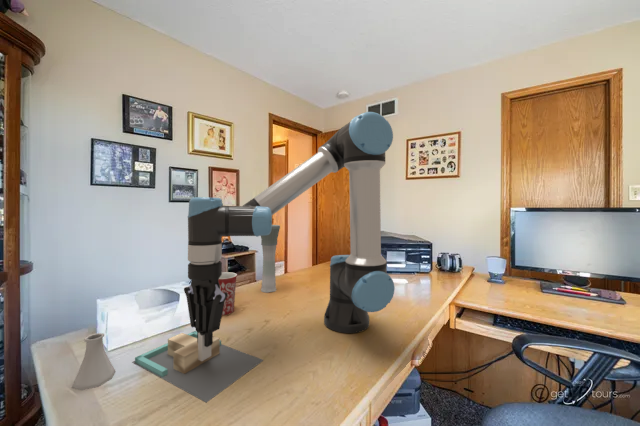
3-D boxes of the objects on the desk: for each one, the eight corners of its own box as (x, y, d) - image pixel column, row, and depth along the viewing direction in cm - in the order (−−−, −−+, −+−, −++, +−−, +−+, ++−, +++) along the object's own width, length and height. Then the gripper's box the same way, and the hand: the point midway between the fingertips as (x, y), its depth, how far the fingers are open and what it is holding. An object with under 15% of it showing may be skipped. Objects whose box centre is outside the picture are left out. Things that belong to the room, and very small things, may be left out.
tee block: (219, 353, 71) (219, 338, 70) (184, 373, 62) (184, 356, 62) (192, 342, 76) (192, 328, 76) (156, 360, 67) (156, 344, 67)
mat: (263, 361, 68) (263, 355, 68) (206, 404, 53) (206, 396, 53) (193, 335, 81) (193, 329, 81) (131, 363, 66) (131, 357, 66)
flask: (89, 371, 63) (89, 329, 62) (122, 370, 63) (122, 328, 63) (62, 393, 56) (62, 345, 55) (100, 391, 56) (100, 344, 56)
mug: (236, 315, 96) (237, 277, 96) (209, 317, 94) (209, 279, 93) (236, 302, 108) (236, 269, 108) (212, 304, 106) (212, 270, 105)
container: (262, 286, 130) (263, 224, 130) (281, 287, 129) (282, 225, 128) (255, 292, 121) (255, 225, 120) (275, 294, 120) (276, 226, 119)
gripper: (236, 261, 65) (235, 357, 66) (200, 256, 72) (200, 344, 72) (210, 267, 59) (210, 374, 59) (173, 261, 65) (173, 357, 66)
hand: (204, 357), depth 66 cm, fingers closed
